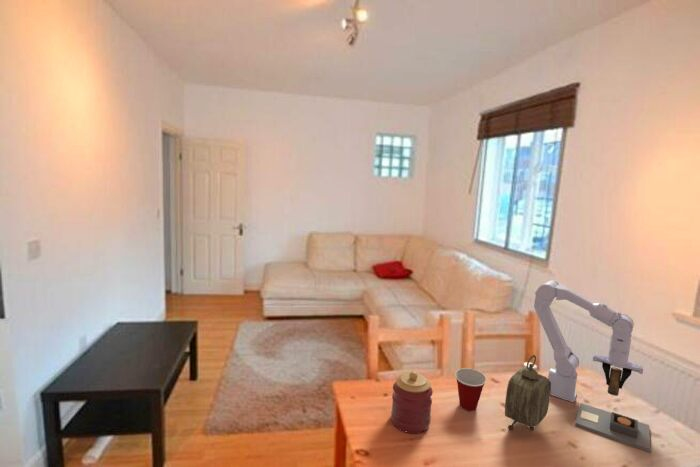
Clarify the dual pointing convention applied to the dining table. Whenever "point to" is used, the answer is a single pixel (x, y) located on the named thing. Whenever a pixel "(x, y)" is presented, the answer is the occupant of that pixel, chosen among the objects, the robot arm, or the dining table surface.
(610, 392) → the brown cylinder
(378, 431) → the dining table surface
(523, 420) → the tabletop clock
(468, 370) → the plastic cup
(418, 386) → the canister
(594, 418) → the switch panel
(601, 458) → the dining table surface
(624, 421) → the breaker button
